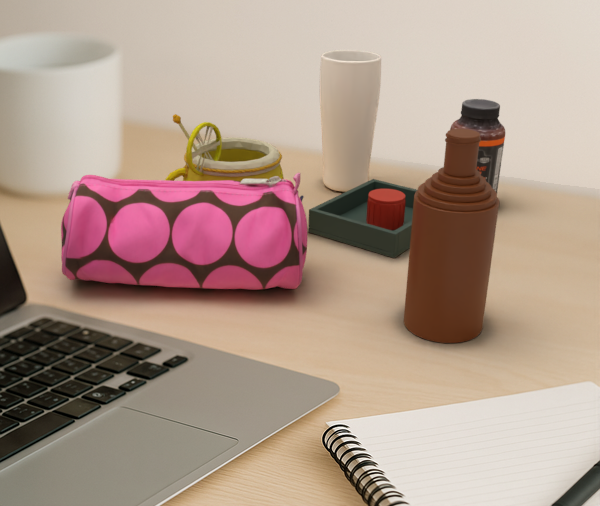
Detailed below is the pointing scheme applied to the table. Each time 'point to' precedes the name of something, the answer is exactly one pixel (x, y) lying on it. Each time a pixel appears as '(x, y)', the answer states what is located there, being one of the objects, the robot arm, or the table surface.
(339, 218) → the tray
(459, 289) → the bottle
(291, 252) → the pencil case
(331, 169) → the drinking glass
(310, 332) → the table surface
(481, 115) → the supplement bottle
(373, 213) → the cap
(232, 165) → the yellow round vessel
